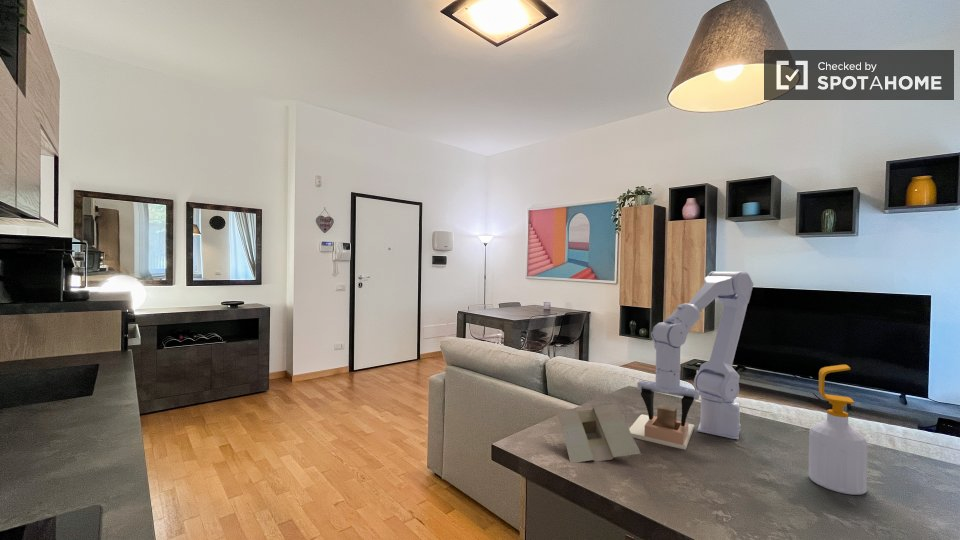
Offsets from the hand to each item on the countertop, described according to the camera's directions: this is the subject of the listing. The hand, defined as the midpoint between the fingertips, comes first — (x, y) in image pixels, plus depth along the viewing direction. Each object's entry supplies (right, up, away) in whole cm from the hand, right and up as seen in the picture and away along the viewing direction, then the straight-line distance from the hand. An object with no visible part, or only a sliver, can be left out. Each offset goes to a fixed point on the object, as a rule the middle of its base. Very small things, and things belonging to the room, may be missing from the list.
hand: (666, 421), depth 106 cm
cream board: (+1, -4, +4) cm, 6 cm away
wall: (-20, -4, -8) cm, 22 cm away
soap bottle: (+25, -5, -22) cm, 34 cm away
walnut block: (0, -3, 0) cm, 3 cm away
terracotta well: (0, -3, 0) cm, 3 cm away
